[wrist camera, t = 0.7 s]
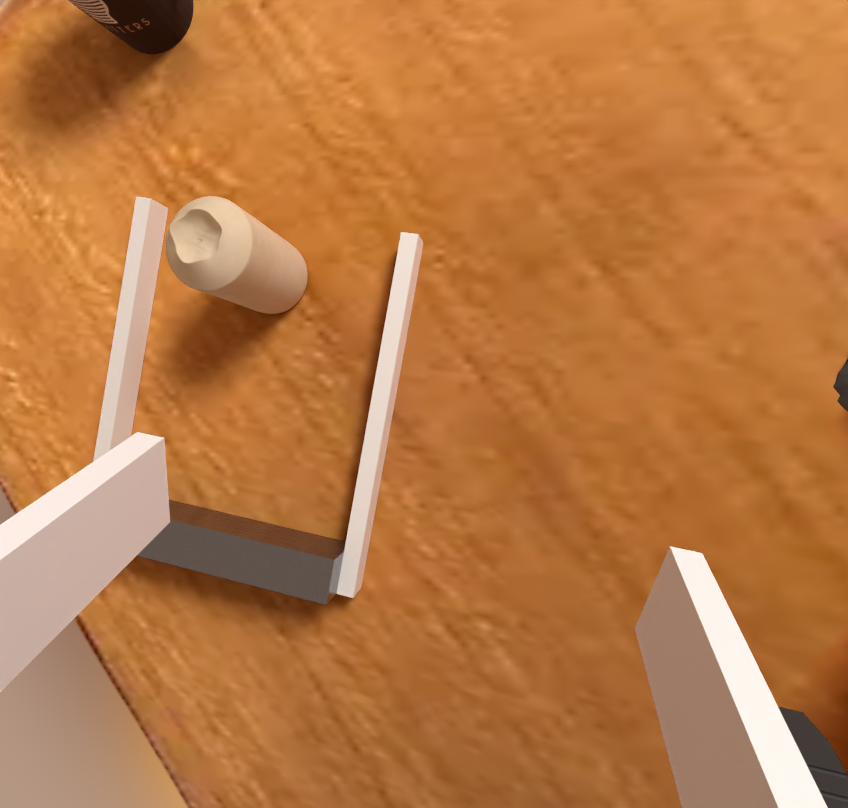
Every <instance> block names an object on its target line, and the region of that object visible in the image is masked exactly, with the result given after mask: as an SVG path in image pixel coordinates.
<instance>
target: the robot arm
mask: <svg viewBox="0 0 848 808" xmlns="http://www.w3.org/2000/svg"><path fill="white" fill-rule="evenodd" d="M169 523H170V511H169V497H168V483H167V469H166V455H165V441H164V438H163V437H158V436H153V435H149V434H144V433H139V432H137V433H135V434H134V435H132V436H131V437H129V438H128V439H126V440H125V441H123V442H122V443H120V444H119V445H118V446H116V447H115V448H113V449H112V450H110V451H109V452H107V453H106V454H104V455H103V456H101V457H100V458H98V459H97V460H95V461H94V462H92V463H91V464H89V465H88V466H87V467H85V468H84V469H82V470H81V471H79V472H78V473H76V474H75V475H73V476H72V477H70V478H69V479H67V480H66V481H64V482H63V483H61V484H60V485H58V486H57V487H55V488H54V489H53V490H51V491H50V492H48V493H47V494H45V495H44V496H42V497H41V498H39V499H38V500H36V501H35V502H33V503H32V504H30V505H29V506H27V507H26V508H24V509H23V510H21V511H20V512H19V513H17V514H16V515H14V516H13V517H11V518H10V519H8V520H7V521H5V522H4V523H2V524H0V692H1V691H2V690H3V689H4V688H5V687H6V686H7V685H8V684H9V683H10V682H11V681H12V680H13V679H14V678H15V677H16V676H17V675H18V674H19V673H20V672H21V671H22V670H23V669H24V668H25V667H26V666H27V665H28V664H29V663H30V662H31V661H32V660H33V659H34V658H35V657H36V656H37V655H38V654H39V653H40V652H41V651H42V650H43V649H44V648H45V647H46V646H47V645H48V644H49V643H50V642H51V641H52V640H53V639H54V638H55V637H56V636H57V635H58V634H59V633H60V632H61V631H62V630H63V629H64V628H65V627H66V626H67V625H68V624H69V623H70V622H71V621H72V620H73V619H74V618H75V617H76V616H77V615H78V614H79V613H80V612H81V611H82V610H83V609H84V608H85V607H86V606H87V605H88V604H89V603H90V602H91V601H92V600H93V599H94V598H95V597H96V596H97V595H98V594H99V593H100V592H101V591H102V590H103V589H104V588H105V587H106V586H107V585H108V584H109V583H110V582H111V581H112V580H113V579H114V578H115V577H116V576H117V575H118V574H119V573H120V572H121V571H122V570H123V569H124V568H125V567H126V566H127V565H128V564H129V563H130V562H131V561H132V560H133V559H134V558H135V557H136V556H137V555H138V554H139V553H140V552H141V551H142V550H143V549H144V548H145V547H146V546H147V545H148V544H149V543H150V542H151V541H152V540H153V539H154V538H155V537H156V536H157V535H158V534H159V533H160V532H161V531H162V530H163V529H164V528H165V527H166V526H167V525H168V524H169ZM635 631H636V635H637V639H638V642H639V646H640V650H641V654H642V658H643V662H644V665H645V669H646V673H647V677H648V681H649V684H650V688H651V692H652V696H653V700H654V703H655V707H656V711H657V715H658V719H659V722H660V726H661V730H662V734H663V738H664V742H665V745H666V749H667V753H668V757H669V761H670V764H671V768H672V772H673V776H674V780H675V783H676V787H677V791H678V795H679V799H680V803H681V806H682V808H848V779H847V777H846V775H847V773H846V771H845V770H844V768H843V766H842V764H841V762H840V761H839V759H838V757H837V755H836V753H835V751H834V750H833V748H832V746H831V744H830V742H829V741H828V740H827V739H826V738H825V737H824V736H823V734H822V733H821V732H820V731H819V730H818V729H817V728H816V727H815V725H814V724H813V723H812V722H811V721H810V720H809V719H808V718H807V717H806V715H805V714H804V713H803V712H798V711H794V710H790V709H786V708H782V707H778V706H777V704H776V702H775V700H774V698H773V696H772V694H771V692H770V690H769V688H768V686H767V684H766V682H765V680H764V678H763V676H762V674H761V672H760V670H759V667H758V665H757V663H756V661H755V659H754V657H753V655H752V653H751V651H750V649H749V647H748V645H747V643H746V641H745V639H744V637H743V635H742V633H741V631H740V629H739V627H738V625H737V623H736V621H735V619H734V617H733V615H732V613H731V611H730V609H729V607H728V605H727V603H726V601H725V599H724V597H723V594H722V592H721V590H720V588H719V586H718V584H717V582H716V580H715V578H714V576H713V574H712V572H711V570H710V568H709V566H708V564H707V562H706V560H705V558H704V556H703V554H702V553H699V552H694V551H689V550H685V549H680V548H675V547H671V546H670V547H669V550H668V552H667V554H666V557H665V559H664V561H663V564H662V566H661V568H660V571H659V573H658V575H657V578H656V580H655V582H654V585H653V587H652V589H651V592H650V594H649V596H648V599H647V601H646V603H645V606H644V608H643V610H642V613H641V615H640V617H639V620H638V622H637V624H636V627H635Z"/></svg>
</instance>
